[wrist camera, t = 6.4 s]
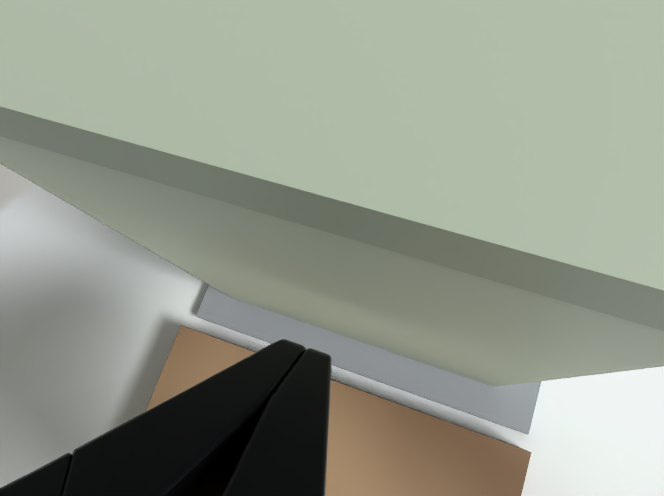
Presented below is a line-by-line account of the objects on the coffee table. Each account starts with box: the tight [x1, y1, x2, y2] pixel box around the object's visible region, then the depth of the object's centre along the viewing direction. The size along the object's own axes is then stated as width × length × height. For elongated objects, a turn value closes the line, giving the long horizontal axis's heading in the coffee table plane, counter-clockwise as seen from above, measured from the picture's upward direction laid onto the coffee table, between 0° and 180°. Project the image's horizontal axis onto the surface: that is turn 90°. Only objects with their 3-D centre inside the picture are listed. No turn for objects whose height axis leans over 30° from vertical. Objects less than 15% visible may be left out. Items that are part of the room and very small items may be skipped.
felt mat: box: [196, 285, 541, 434], centre depth 16 cm, size 10×10×1 cm
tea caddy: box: [0, 0, 664, 387], centre depth 10 cm, size 8×8×12 cm
